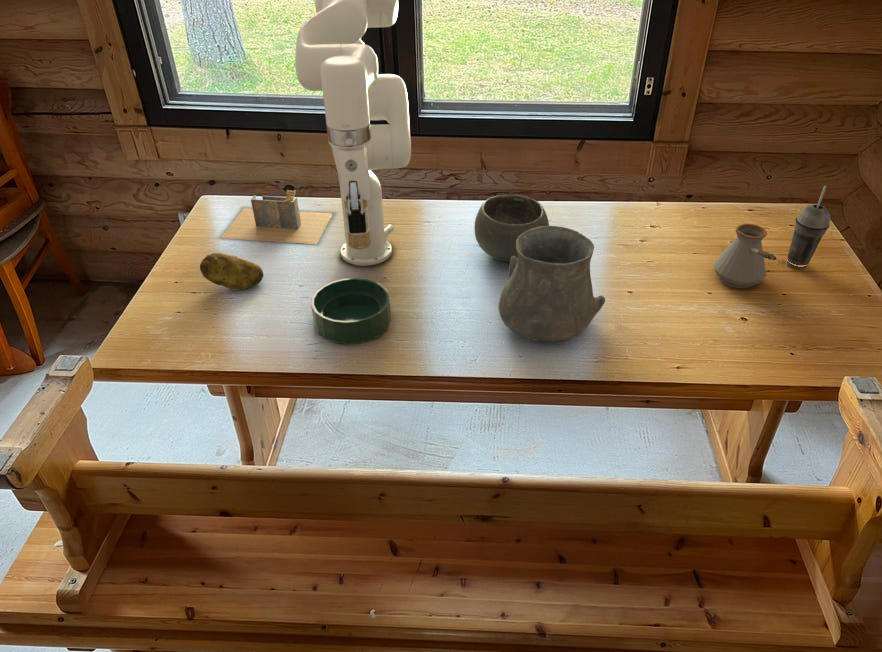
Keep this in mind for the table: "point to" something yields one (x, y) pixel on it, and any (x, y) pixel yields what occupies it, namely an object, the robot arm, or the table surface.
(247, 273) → the potato
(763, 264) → the coffee pot
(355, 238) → the sprinkles bottle
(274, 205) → the architectural model on board
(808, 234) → the beverage cup
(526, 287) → the vessel
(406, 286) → the table surface
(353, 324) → the green round dish
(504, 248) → the bowl
